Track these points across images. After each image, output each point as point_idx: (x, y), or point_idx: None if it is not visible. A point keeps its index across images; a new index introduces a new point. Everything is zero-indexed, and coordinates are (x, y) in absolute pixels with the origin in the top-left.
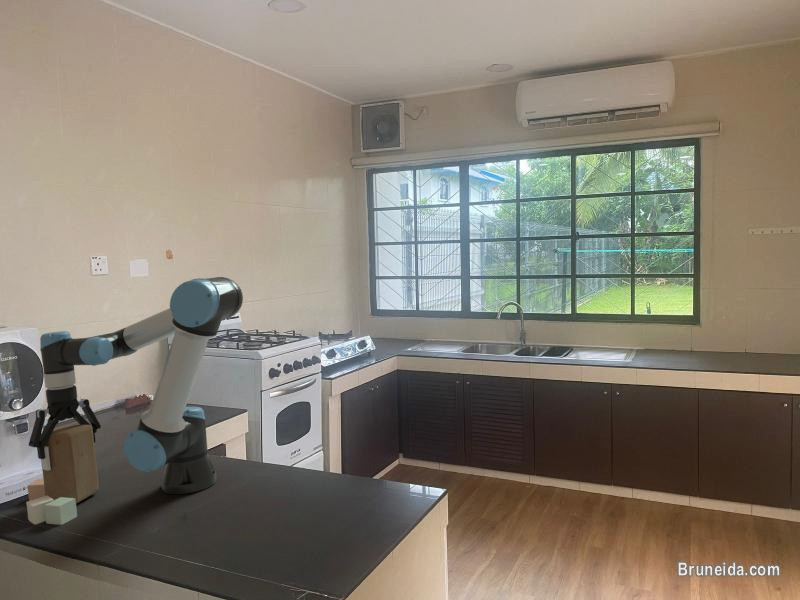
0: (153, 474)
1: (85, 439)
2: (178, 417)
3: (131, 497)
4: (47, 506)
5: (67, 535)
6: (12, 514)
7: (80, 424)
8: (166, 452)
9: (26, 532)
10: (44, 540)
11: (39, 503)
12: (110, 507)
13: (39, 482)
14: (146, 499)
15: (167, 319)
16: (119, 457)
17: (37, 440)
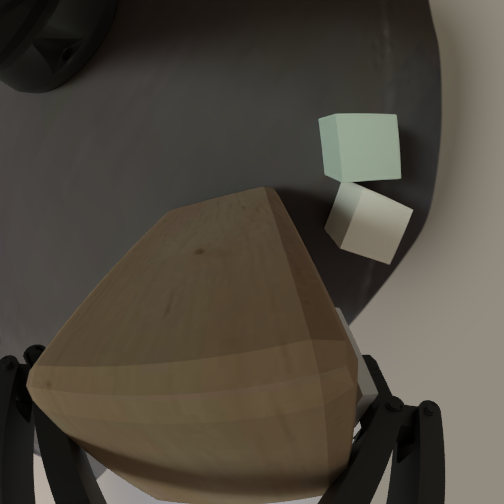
0: (34, 191)
1: (125, 313)
2: None
3: (156, 81)
4: (398, 166)
5: (401, 55)
6: (347, 313)
7: (84, 454)
8: None
9: (419, 175)
10: (432, 92)
11: (395, 208)
12: (235, 73)
13: None
14: (157, 30)
15: None
16: None
17: (429, 431)
